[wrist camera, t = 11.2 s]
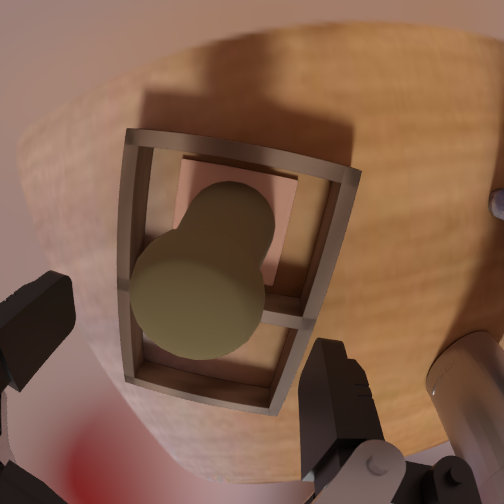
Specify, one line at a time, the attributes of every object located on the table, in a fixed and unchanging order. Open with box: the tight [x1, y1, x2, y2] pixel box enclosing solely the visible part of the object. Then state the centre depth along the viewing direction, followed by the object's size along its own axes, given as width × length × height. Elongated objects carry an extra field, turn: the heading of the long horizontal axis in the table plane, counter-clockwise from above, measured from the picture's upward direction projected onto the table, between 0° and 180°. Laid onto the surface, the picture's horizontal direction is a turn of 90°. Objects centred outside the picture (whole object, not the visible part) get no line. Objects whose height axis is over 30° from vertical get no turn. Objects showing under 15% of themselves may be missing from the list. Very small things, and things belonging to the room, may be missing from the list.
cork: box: [129, 181, 275, 360], centre depth 15 cm, size 6×6×11 cm
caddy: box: [117, 128, 362, 416], centre depth 21 cm, size 14×21×2 cm, turn 169°
